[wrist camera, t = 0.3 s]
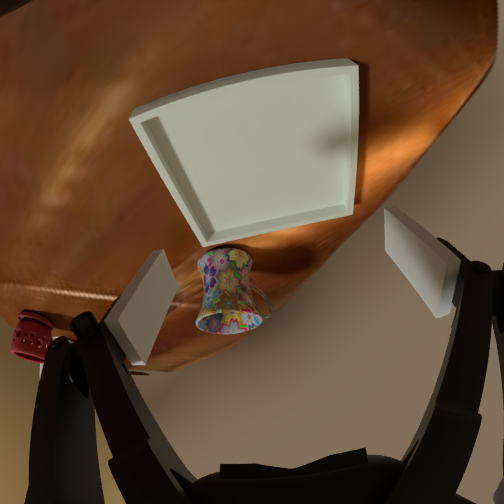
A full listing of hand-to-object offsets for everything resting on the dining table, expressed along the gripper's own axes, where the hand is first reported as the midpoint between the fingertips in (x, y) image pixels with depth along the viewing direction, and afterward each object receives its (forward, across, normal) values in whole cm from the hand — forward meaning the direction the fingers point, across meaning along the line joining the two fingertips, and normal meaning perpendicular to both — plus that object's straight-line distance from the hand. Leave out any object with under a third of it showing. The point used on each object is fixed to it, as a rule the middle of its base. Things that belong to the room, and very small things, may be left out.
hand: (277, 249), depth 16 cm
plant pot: (+27, -67, -21) cm, 75 cm away
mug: (+25, -8, -13) cm, 29 cm away
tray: (+16, 0, +3) cm, 16 cm away
